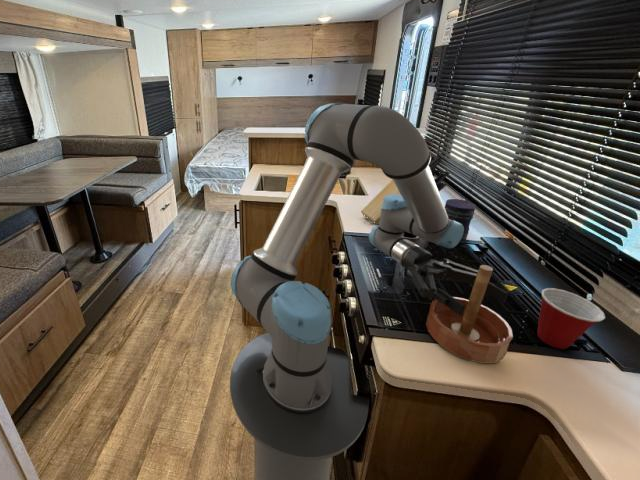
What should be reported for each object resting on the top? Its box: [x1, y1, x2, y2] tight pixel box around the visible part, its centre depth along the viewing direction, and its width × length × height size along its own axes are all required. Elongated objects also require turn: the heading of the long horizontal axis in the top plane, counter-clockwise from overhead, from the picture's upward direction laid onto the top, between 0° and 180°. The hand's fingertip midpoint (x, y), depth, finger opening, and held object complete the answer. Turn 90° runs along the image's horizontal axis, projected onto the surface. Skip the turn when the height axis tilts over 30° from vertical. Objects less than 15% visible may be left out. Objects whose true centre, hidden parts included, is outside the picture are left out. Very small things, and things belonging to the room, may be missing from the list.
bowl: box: [425, 296, 514, 364], centre depth 77 cm, size 17×17×6 cm
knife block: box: [360, 149, 451, 225], centre depth 137 cm, size 11×35×31 cm, turn 103°
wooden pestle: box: [450, 264, 494, 342], centre depth 74 cm, size 6×6×20 cm
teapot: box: [403, 231, 430, 250], centre depth 117 cm, size 19×15×10 cm
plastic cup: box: [536, 287, 606, 350], centre depth 74 cm, size 11×11×12 cm
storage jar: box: [444, 198, 477, 244], centre depth 122 cm, size 10×10×15 cm
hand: (484, 304), depth 71 cm, fingers open, 13 cm apart
